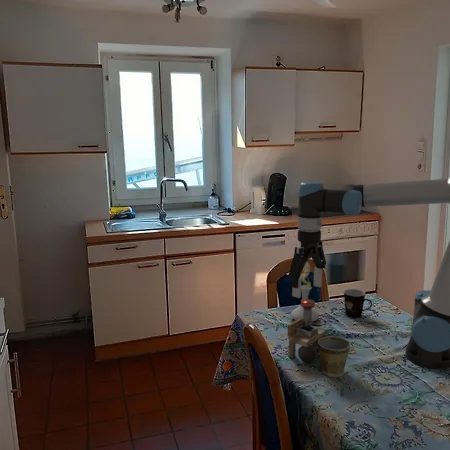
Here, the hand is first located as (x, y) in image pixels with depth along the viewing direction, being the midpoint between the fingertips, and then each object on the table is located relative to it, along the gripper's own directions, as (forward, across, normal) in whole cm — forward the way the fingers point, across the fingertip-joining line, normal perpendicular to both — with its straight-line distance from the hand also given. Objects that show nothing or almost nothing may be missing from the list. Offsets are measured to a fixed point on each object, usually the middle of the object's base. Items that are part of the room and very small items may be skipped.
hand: (307, 291), depth 154 cm
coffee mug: (+23, +42, +1) cm, 47 cm away
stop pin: (+15, 0, 0) cm, 15 cm away
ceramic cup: (+23, -4, -13) cm, 26 cm away
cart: (+23, 0, -2) cm, 23 cm away
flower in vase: (+23, +25, +15) cm, 37 cm away
